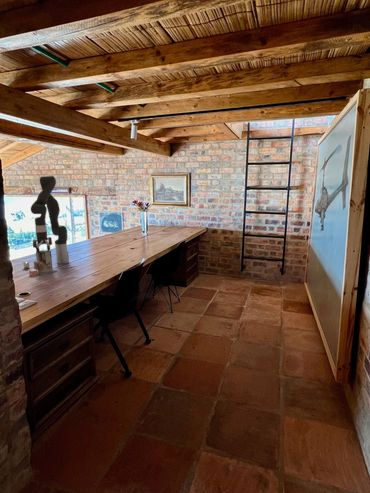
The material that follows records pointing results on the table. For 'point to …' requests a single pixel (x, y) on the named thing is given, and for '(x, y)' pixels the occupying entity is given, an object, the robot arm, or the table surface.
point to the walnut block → (35, 264)
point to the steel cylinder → (26, 265)
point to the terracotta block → (33, 272)
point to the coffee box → (44, 261)
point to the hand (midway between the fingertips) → (43, 251)
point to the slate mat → (46, 273)
